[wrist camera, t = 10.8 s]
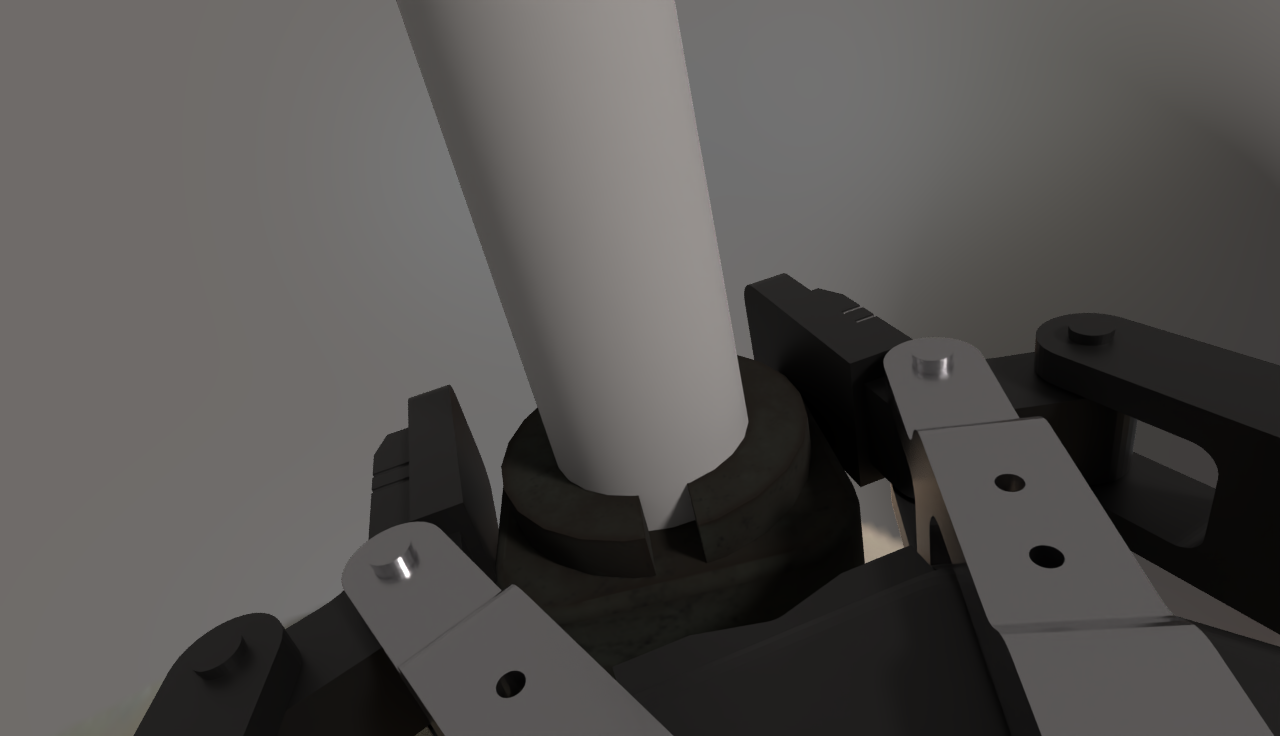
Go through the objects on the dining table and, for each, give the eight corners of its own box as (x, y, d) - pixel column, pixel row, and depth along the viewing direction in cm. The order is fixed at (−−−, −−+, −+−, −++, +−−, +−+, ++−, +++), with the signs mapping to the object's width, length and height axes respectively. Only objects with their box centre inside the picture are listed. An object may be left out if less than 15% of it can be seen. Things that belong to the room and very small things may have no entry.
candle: (834, 754, 19) (626, -693, 7) (917, 986, 15) (739, -1746, 3) (651, 797, 20) (140, -563, 7) (680, 1040, 15) (-491, -1387, 3)
